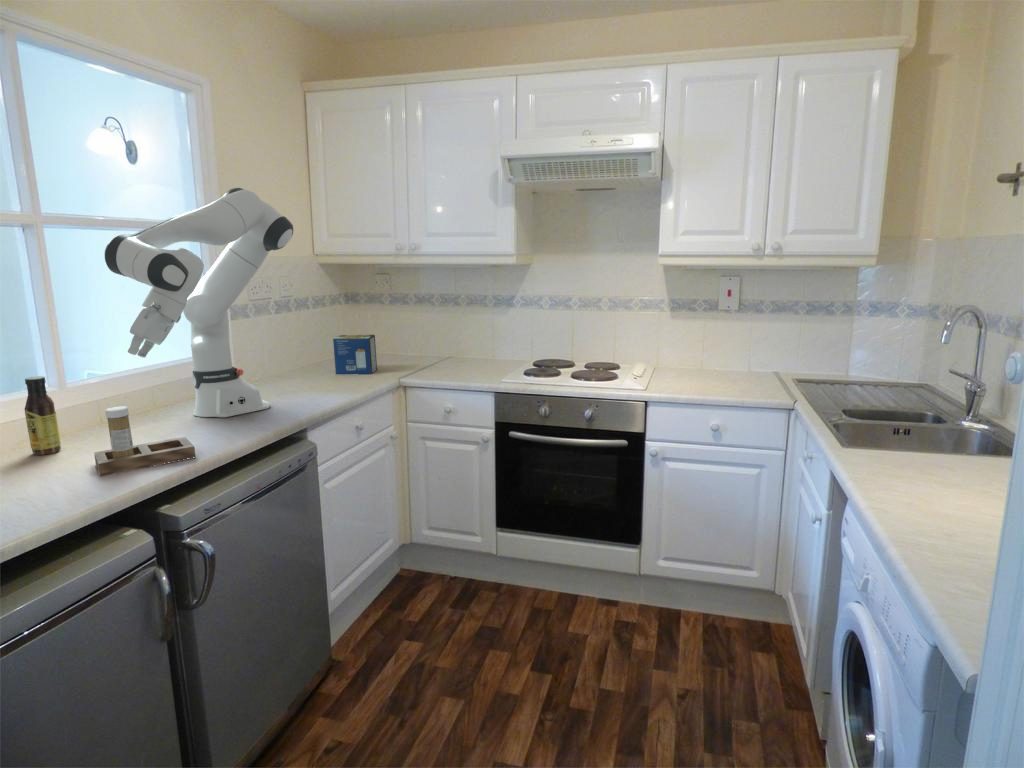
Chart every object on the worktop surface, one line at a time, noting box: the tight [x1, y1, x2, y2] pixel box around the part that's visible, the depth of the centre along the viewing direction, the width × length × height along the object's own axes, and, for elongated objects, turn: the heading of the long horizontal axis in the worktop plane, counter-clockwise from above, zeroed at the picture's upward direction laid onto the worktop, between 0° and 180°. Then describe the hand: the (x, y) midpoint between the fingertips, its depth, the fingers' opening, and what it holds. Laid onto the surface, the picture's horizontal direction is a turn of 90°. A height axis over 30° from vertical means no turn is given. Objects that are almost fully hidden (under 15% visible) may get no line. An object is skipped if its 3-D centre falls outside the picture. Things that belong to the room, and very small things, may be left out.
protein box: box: [332, 334, 378, 375], centre depth 263 cm, size 10×15×16 cm
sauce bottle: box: [24, 375, 62, 456], centre depth 159 cm, size 6×6×20 cm
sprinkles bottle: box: [105, 405, 134, 459], centre depth 148 cm, size 5×5×13 cm
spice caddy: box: [93, 436, 196, 477], centre depth 152 cm, size 20×11×3 cm, turn 128°
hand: (136, 355), depth 160 cm, fingers open, 8 cm apart
